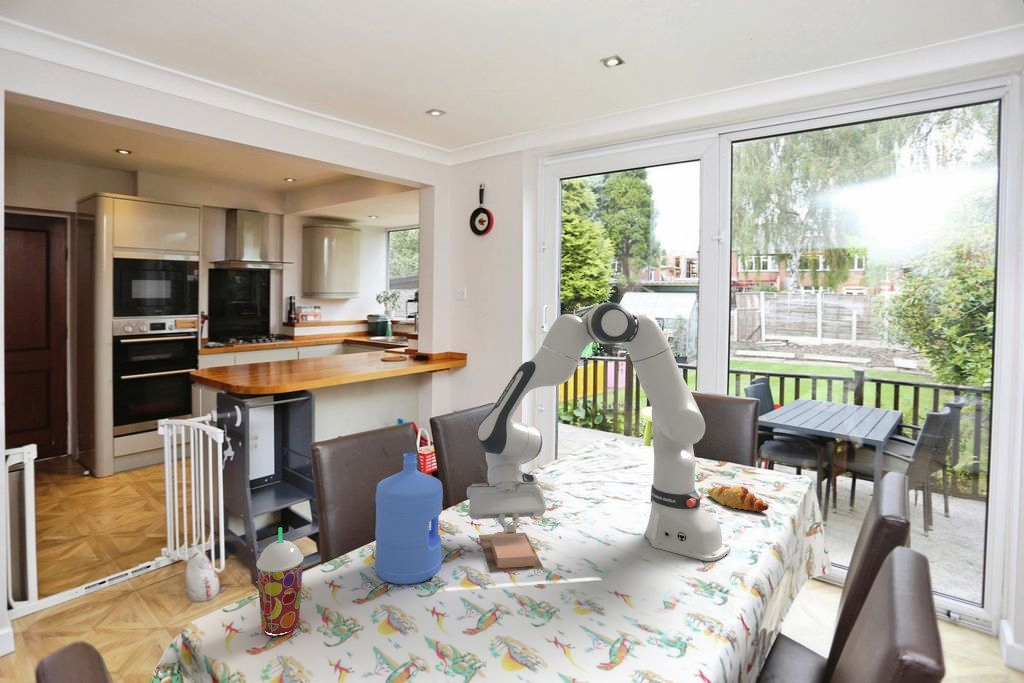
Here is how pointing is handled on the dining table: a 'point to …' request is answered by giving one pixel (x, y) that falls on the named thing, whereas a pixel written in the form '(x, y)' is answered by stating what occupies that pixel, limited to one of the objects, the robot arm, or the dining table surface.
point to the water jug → (408, 525)
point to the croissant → (737, 498)
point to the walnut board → (490, 558)
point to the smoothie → (280, 585)
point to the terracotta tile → (512, 551)
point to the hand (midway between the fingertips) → (510, 532)
